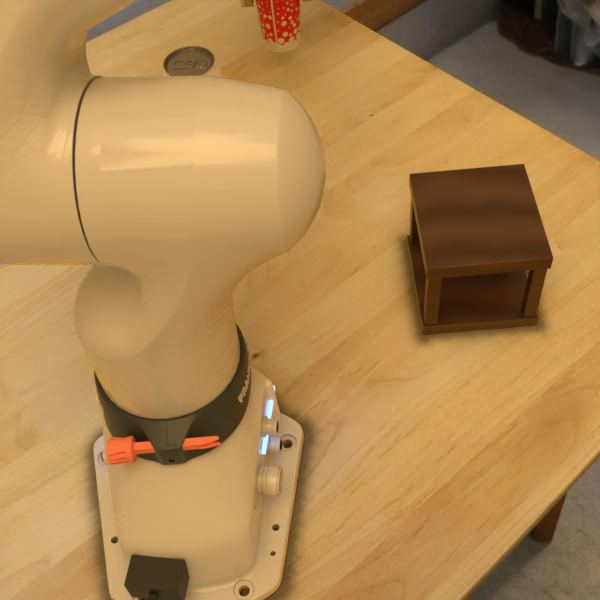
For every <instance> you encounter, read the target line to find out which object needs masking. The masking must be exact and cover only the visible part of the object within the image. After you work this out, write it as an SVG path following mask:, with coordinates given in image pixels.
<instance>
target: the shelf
mask: <svg viewBox="0 0 600 600" xmlns="http://www.w3.org/2000/svg"><path fill="white" fill-rule="evenodd" d="M408 179H409V181H408V185H409V191H410V207H409V209H410V210H409V228H408V229H409V230H408V235H406V246H407V252H408V253H407V254H408V259H409V264H410V269H411V277H412V282H413V287H414V293H415V299H416V305H417V310H418V315H419V322H420V327H421V331H422V332H421V333H422V336H425V335H437V334H449V333H462V332H473V331H474V332H475V331H486V330H496V329H499V330H500V329H509V328H510V329H511V328H522V327H533V326H534V327H535V326H537V325H538V321H539V316H538V309H539V305H540V301H541V297H542V293H543V288H544V286H545V281H546V277H547V273H548V270H550V269H551V268H552V265H553V261H554V255H553V252H552V249H551V246H550V242H549V239H548V237H547V232H546V230H545V226H544V223H543V219H542V217H541V213H540V210H539V207H538V204H537V201H536V198H535V195H534V191H533V188H532V185H531V181H530V178H529V175H528V171H527V168H526V165H525V163H517V164H515V163H514V164H505V165H494V166H481V167H472V168H471V167H469V168H459V169H450V170H449V169H448V170H447V169H446V170H437V171H426V172H414V173H409V178H408ZM526 271H527V272H528V275H527V273H526Z"/></svg>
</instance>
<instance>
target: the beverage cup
mask: <svg viewBox="0 0 600 600" xmlns="http://www.w3.org/2000/svg"><path fill="white" fill-rule="evenodd" d="M255 5H256V10H257V11H256V12H257V15H258V21H259V27H260V33H261V36H262V42H263V45H264V47H265V48H266V49H267V50H269V51H271V52H274V53H286V52H289V51H293V50H294V49H296V48H297V47H298V46H299V45H300V44H301V0H255Z"/></svg>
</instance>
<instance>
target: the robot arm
mask: <svg viewBox="0 0 600 600" xmlns="http://www.w3.org/2000/svg"><path fill="white" fill-rule="evenodd" d="M136 1H137V0H0V266H91V267H90V269H89V270H88V271H87V272H86V274H85V275H84V276H83V278H82V280H81V282H80V284H79V286H78V288H77V292H76V293H75V294H76V295H75V298H74V304H73V324H74V329H75V332H76V335H77V338H78V340H79V341H80V344H81V346H82V348H83V350H84V352H85V354H86V357H87V358H88V361H89V362H90V365H91V367H92V369H93V377H94V382H95V383H94V384H95V392H96V395H95V396H94V399H95V401H96V403H97V405H98V407H99V412H100V419H101V427H102V435H100V437H98V438H97V439H96V440H95V442H94V443H93V447H92V449H93V450H92V452H93V453H92V454H93V461H94V470H95V479H96V488H97V489H96V490H97V498H98V507H99V517H100V525H101V533H102V543H103V552H104V560H105V561H104V562H105V570H106V579H107V586H108V592H109V595H110V598H111V600H142V599H144V600H266V599H267V598H269V597H270V596H271V595H273V594H274V593H275V592H277V590H278V589H279V588H280V586H281V584H282V580H283V575H284V569H285V562H286V557H287V556H286V555H287V550H288V544H289V543H288V542H289V537H290V530H291V524H292V517H293V511H294V505H295V498H296V491H297V485H298V478H299V474H300V467H301V459H302V453H303V446H304V440H305V433H304V430H303V427H302V426H301V424H300V423H299V421H296V420H295V419H293V418H291V417H290V416H288V415H286V414H284V413H282V412H281V410H280V407H279V402H278V398H277V395H276V387H275V386H276V385H274V384H273V383H274V382H273V381H272V380H271V379H269V378H268V376H267V375H265V374H263V372H261V371H260V370H258V369H257V368H256V367H255V366H254V365H253V364H251V363H252V362H251V358H250V355H251V354H250V351H249V347H248V343H247V342H246V339H245V337H244V335H243V332H242V330H241V328H240V326H239V325H238V323H237V322H236V318H235V317H236V316H235V308H234V292H235V290H236V288H237V287H238V286H239V284H240V283H242V281H244V279H245V278H246V277H247V276H248V275H250V274H251V273H252V272H253V271H255V270H256V269H257V268H259V267H260V266H262V265H264V264H265V263H268V262H269V261H271V260H273V259H276V258H277V257H279V256H283V255H284V254H287V253H289V252H290V251H291V250H292V249H293V248H294V247H295V246H296V245H297V244H299V242H300V241H301V240H302V239H303V237H305V235H306V234H307V232H309V231H308V230H310V228H311V226H312V225H313V223H314V221H315V219H316V217H317V215H318V213H319V210H320V208H321V205H322V201H323V197H324V194H325V186H326V178H327V177H326V174H327V173H326V172H327V171H326V166H327V165H326V157H325V152H324V151H325V150H324V147H323V143H322V140H321V137H320V134H319V132H318V129H317V127H316V125H315V123H314V121H313V119H312V118H311V116H310V114H309V113H308V111H307V110H306V107H304V106H303V105H302V103H301V102H300V101H299V100H298V99H297V97H295V95H293V94H292V93H291V92H290V91H289V90H287V89H285V88H281V87H276V86H272V85H267V84H261V83H257V82H252V81H247V80H242V79H235V78H229V77H223V76H222V77H218V76H212V75H203V76H162V75H157V76H155V75H151V76H149V75H148V76H105V77H104V76H102V75H97V74H92V72H91V70H90V67H89V63H88V57H87V38H88V34H89V30H90V29H92V28H93V27H95V26H97V25H99V24H101V23H102V22H104V21H107V20H109V19H110V18H111V17H113V16H115V15H116V14H118V13H119V12H121V11H123V10H125V9H126V8H127V7H129V6H130V5H132V4H134V2H136ZM315 1H316V0H302V3H307V2H315ZM240 6H241V8H253V7H255V0H240ZM287 444H289V445H291V446H290V447H285V445H287ZM275 529H277V530H275ZM245 589H247V590H248V594H247V595H241V592H242V590H245Z"/></svg>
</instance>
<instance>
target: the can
mask: <svg viewBox="0 0 600 600" xmlns="http://www.w3.org/2000/svg"><path fill="white" fill-rule="evenodd" d="M162 67H163V71H162V75H161V76H203V75H212V76H218V77H223V74H222V70H221V67H220V65H219V62H217V60H216V59H215V55H214V53H213V52H212V51H211V50H210V49H208V48H206V47H204V46H200V45H187V46H182V47H179V48H176V49H175V50H173V51H170V53H169V54H167V55H166V57H165V58H164V60H163V63H162Z"/></svg>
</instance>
